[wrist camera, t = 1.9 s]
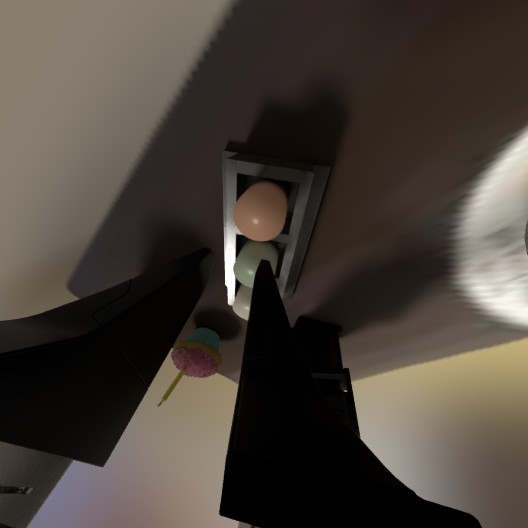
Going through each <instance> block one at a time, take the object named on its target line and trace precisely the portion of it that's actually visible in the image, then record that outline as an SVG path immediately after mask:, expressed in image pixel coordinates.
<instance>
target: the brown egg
mask: <svg viewBox="0 0 528 528" xmlns="http://www.w3.org/2000/svg"><path fill="white" fill-rule="evenodd" d="M288 205H289V196H288V193H287V191H286V189H285V188H284V186H283V185H282V184H281V183H279V182H278V181H276V180H274V179H270V178H263V179H259V180H257V181H255V182H254V183H253V184H252V185H251V186H250V187H249V188H248V189H247V190H246V191H245V193H244V194H243V195H242V196H241V197H240V198H239V199H238V201H237V202H236V204H235V207H234V211H233V217H234V221H235V224H236V226H237V228H238V229H239V231H240V232H241V233H242V234H243V235H245V236H246V237H248V238H249V239H252V240H255V241H268V240H271V239H273V238H275V237H276V236H277V235H278V234H279V233H280V232H281V231H282V229H283V227H284V223H285V219H286V214H287V210H288Z"/></svg>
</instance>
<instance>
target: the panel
mask: <svg viewBox="0 0 528 528" xmlns="http://www.w3.org/2000/svg"><path fill="white" fill-rule="evenodd" d="M330 169H331V167H330V166H328V165H322V164H315V163H309V162H302V161H296V160H289V159H283V158H276V157H270V156H264V155H257V154H251V153H244V152H238V151H231V150H222V170H223V207H224V244H225V281H226V285H227V286H228V305H233V303H234V300H235V298H236V295H237V293H238V290H239V288H240V286H241V283H240V282H239V281H238V280H237V278H236V277H235V275H234V273H233V265H234V263H235V261H236V259H237V257H238V255H239V253H240V251H241V249H242V247H243V246H244V244H245V242H246V240H247V239H248V237H246V236H245V235H243V234H242V233H241V232H240V231H239V229H238V228H237V226H236V224H235V221H234V217H233V211H234V207H235V204H236V202H237V201H238V199H239V198H240V197H241V196H242V195H243V194H244V193H245V191H246V190H247V189H248V188H249V187H250V186H251V185H252V184H253V183H254V182H255V181H257V180H259V179H263V178H270V179H274V180H276V181H278V182H279V183H281V184H282V185H283V186H284V188H285V189H286V191H287V193H288V196H289V205H288V210H287V214H286V219H285V223H284V227H283V229H282V231H281V232H280V233H279V234H278V235H277V236H276V237H275V238H273V239H271V240H272V241H275V242H276V244H277V245H278V248H279V257H278V261H277V266H276V271H275V275H274V276H275V279H276V282H277V285H278V289H279V292H280V295H281V298H287V299H292V296H293V292H294V289H295V286H296V282H297V279H298V276H299V272H300V269H301V266H302V262H303V259H304V256H305V252H306V249H307V246H308V242H309V239H310V236H311V232H312V229H313V226H314V222H315V219H316V216H317V212H318V209H319V206H320V202H321V199H322V196H323V192H324V189H325V185H326V182H327V179H328V175H329V172H330Z"/></svg>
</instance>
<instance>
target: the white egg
mask: <svg viewBox="0 0 528 528" xmlns="http://www.w3.org/2000/svg"><path fill="white" fill-rule="evenodd" d="M252 289H253V288H251V287H248V286H245V285H243V284H242V283H241V286H240V288H239V290H238V293H237V295H236V298H235V300H234V303H233V310H234V311H235V313H236V314H237V315H238V316H240V317H241V318H243V319H246V320H248V317H249V310H250V303H251V296H252Z"/></svg>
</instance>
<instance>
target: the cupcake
mask: <svg viewBox="0 0 528 528" xmlns="http://www.w3.org/2000/svg"><path fill="white" fill-rule="evenodd" d="M171 357H172V360H173V362H174V364H175V365H176V368H178V369H179V370H180V373H179V374H178V376H177V378H176V379H175V380H174V382H173V383H172V384H171V386H170V387H169V389H168V390H167V392H166V393H165V395H164V396H163V398H162V401H161V402H160V404H159V405H158V406H160V405H161V403H162V402H163V401H166V400H167V398H168V397H169V395H170V394H171V392H172V391H173V389H174V387H175V386H176V385H177V383H178V382H179V380H180V379H181V377H182V376H183V374H184V375H186V376H191V377H192V376H193V377H198V378H199V377H201V378H202V377H204V378H205V377H208V376H211V375H213V374H215V373H217V371H218V370H219V369H220V367H221V365H222V359H221V355H220V354H219V336H218V334H217V333H216V332H214V331H213V330H211V329H208V328H198V329H196V330H195V331H194V333H193V334H192V335H191V336H189V337H188V338H187V339H186V340H182V341H180V342H178V343H177V344H176V345H175V347H174V349H173V351H172V355H171Z"/></svg>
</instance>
